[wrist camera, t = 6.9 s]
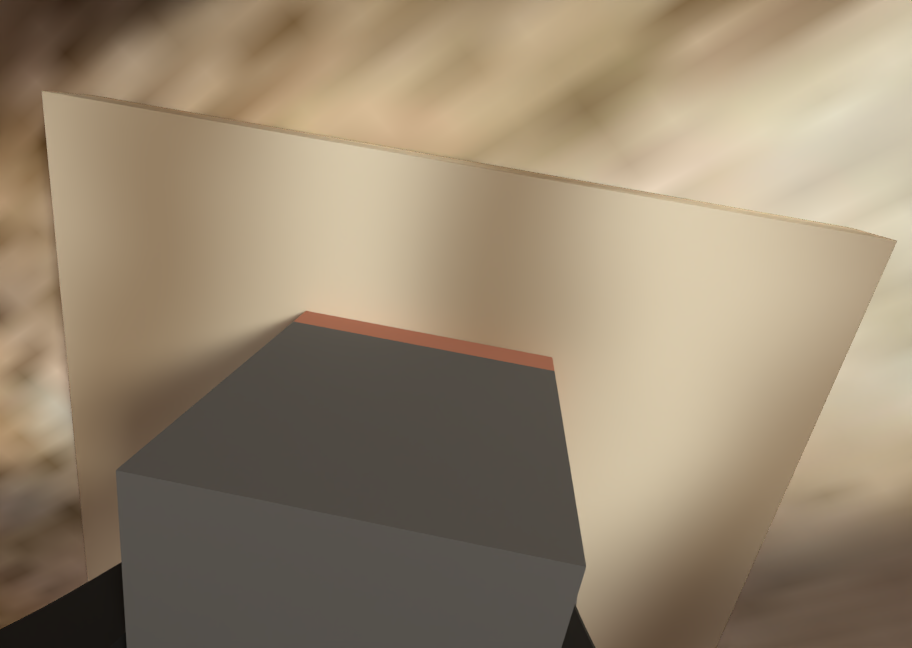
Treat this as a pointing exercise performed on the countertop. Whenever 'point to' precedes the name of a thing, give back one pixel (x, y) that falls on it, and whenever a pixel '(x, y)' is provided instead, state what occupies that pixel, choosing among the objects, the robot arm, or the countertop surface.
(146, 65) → the countertop surface
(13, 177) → the countertop surface
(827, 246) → the board
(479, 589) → the block
